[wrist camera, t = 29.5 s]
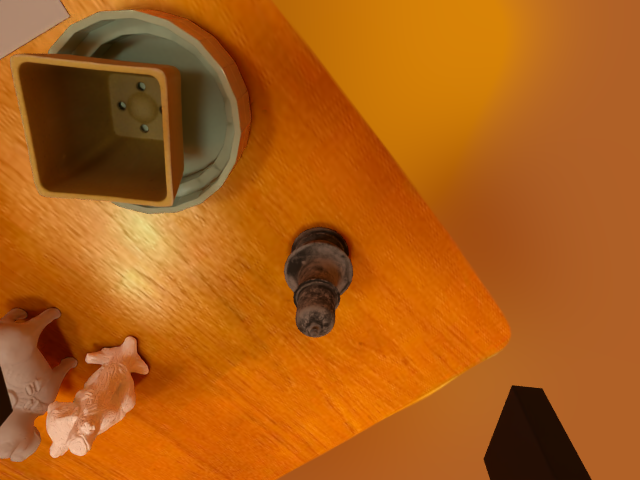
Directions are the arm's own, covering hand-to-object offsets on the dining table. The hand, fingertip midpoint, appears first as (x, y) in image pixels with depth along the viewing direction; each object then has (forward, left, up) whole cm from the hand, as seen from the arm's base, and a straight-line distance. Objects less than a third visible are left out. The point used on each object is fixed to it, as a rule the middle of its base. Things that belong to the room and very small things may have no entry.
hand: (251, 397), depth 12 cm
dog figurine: (0, +36, -28) cm, 46 cm away
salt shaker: (-9, +6, -28) cm, 30 cm away
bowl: (+9, +8, -28) cm, 31 cm away
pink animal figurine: (-6, +31, -28) cm, 42 cm away
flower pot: (+10, +8, -28) cm, 30 cm away
